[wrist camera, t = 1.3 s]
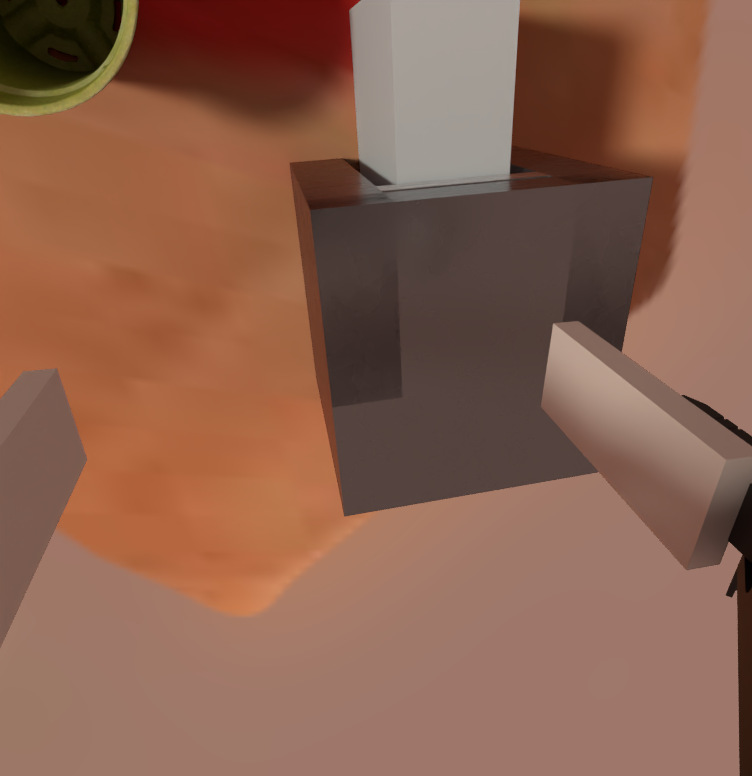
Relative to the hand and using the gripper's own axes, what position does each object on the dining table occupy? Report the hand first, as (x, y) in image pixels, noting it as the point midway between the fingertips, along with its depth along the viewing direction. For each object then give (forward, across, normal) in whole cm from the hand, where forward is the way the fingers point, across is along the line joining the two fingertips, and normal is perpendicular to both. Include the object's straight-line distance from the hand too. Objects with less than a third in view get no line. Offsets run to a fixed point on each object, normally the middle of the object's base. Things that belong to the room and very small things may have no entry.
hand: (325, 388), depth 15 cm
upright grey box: (+21, +7, +6) cm, 22 cm away
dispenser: (+20, +7, -3) cm, 22 cm away
